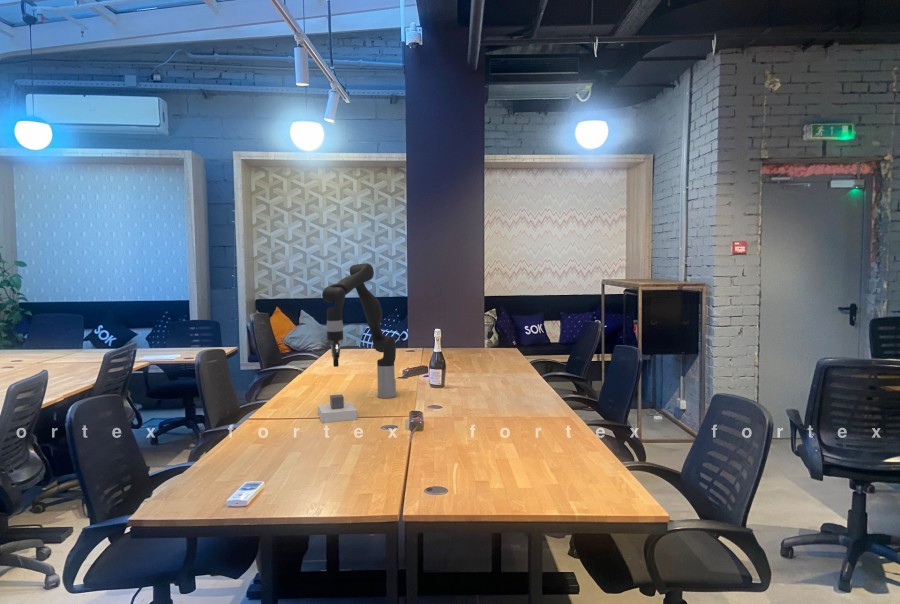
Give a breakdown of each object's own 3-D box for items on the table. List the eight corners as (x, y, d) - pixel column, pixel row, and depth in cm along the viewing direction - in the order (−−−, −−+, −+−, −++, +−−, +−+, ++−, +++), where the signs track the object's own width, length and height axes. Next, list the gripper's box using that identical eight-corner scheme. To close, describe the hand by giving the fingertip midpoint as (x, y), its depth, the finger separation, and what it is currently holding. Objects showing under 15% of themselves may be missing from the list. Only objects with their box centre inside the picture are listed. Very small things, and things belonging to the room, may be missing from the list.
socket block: (351, 411, 289) (351, 402, 288) (357, 419, 273) (356, 410, 273) (318, 414, 283) (317, 405, 283) (322, 423, 268) (321, 413, 268)
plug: (342, 414, 282) (341, 394, 281) (344, 417, 277) (343, 396, 276) (330, 416, 280) (329, 395, 280) (332, 419, 275) (331, 397, 274)
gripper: (345, 331, 270) (346, 368, 272) (340, 327, 283) (341, 363, 284) (328, 331, 268) (329, 369, 269) (325, 328, 280) (326, 364, 282)
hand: (336, 366), depth 277 cm, fingers closed
